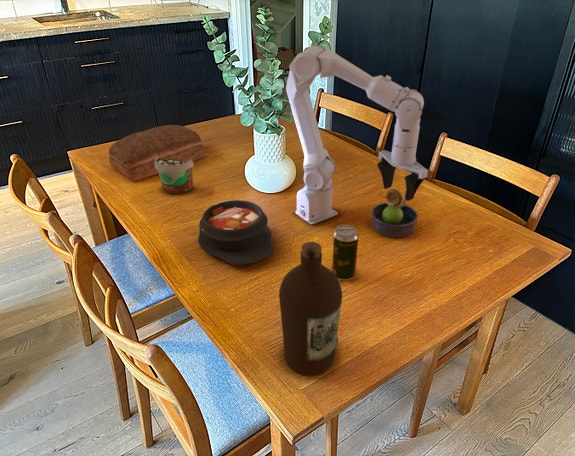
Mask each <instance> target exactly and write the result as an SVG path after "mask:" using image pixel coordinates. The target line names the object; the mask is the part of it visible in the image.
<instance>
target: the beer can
mask: <svg viewBox="0 0 575 456" xmlns="http://www.w3.org/2000/svg"><path fill="white" fill-rule="evenodd" d="M332 243H333V245H332V261H331V262H332V263H331V271H332V272H333V273H334V274H335V276H336V277H337V279H338V281H341V282H347V281H350V280H352V279H353V278H354V277H355V275H356V272H357V271H356V269H357V261H358V260H357V259H358V257H357V256H358V247H359V231H358V229H357V228H356V227H355V226H353V225H350V224H341V225H338V226H337V227H336V228H334V232H333V242H332Z"/></svg>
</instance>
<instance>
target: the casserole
mask: <svg viewBox="0 0 575 456" xmlns="http://www.w3.org/2000/svg"><path fill="white" fill-rule="evenodd" d="M268 221H269V219H268V216H267V214H266V213H265V212H264V210H263V208H261V206H259V205H258V204H257V203H254V202H252V201H249V200H243V199H230V200H224V201H220V202H217V203H214V204H213V205H210V206H209V207H207V209H206V210H205V211H204V212H203V214H202V217H201V219H200V220H199V224H198V225H199V233H198V237H197V241H198V245H199V247H200V248H201V249H202V251H204V252H205V253H206V254H208V255H211V256H214V257H217V258H219V259H221V260H224V261H225V262H226V263H228V264H230V265H234V266H243V265H250V264H253V263H257V262H260V261H262V260H265V259H266V258H268V257H269V256H271V255H272V254H273V251H274V250H275V248H274V245H273V241H272V231H271V229H270V227H269V226H268Z"/></svg>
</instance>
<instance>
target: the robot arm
mask: <svg viewBox="0 0 575 456" xmlns="http://www.w3.org/2000/svg"><path fill="white" fill-rule="evenodd" d="M288 68H289V72H288V76H287V80H286V85H285V91H286V95H287V98H288V101H289V102H288V103H289V105H290V108H291V112H292V115H293V120H294V123H295V126H296V129H297V133H298V137H299V141H300V144H301V147H302V148H301V149H302V151H303V154H304V155H303V156H304V158H303V164H302V167H303V168H302V169H303V171H304V174H303V183H304V187H302V188H301V189H299V190H298V191H297V193H296V210H294V213H295V214H296V215H297V216H299V217H300V218H301V219H302V220H304V221H305V222H306V223H308V224H309V225H315V224H318V223H321V222H322V221H325V220H327V219H330V218H332V217H335V216H338V214H339V212H338V211H336V210H334V209H333V208H332V206H333V185H334V184H333V180H332V176H333V175H334V173H335V172H336V164H335V162H334V161H333V159H332V158H331V157H330V154H329V151H328V150H327V149H326V148H325V147H324V144H323V140H322V137H321V133H320V128H319V125H318V121H317V117H316V114H315V110H314V106H313V102H312V98H311V93H310V87H311V86H312V84H313V83H314V81H315V79H316V78H317V76H318V75H320V76H319V77H320V79H324V78H329V77H337V78H339V79H341V80H343V81H346V82H348V83H350V84H352V85H353V86H356V87H358V88H360V89H362V90H364V91H365V93H366V96H367V98H368V99H369V100H371V101H372V102H374V103H376V104H378V105H380V106H382V107H383V108H386V109H387V110H389V111H390V112H394V115H395V117H396V122H395V124H394V131H393V138H392V147H391V151H389V150H386V149H383V150H381V151H379V152H378V159H379V160H380V161H379V162H378V163H377V164H376V165H377V166H376V167H377V168H378V170H379V172H380V175H381V179H382V185H383V189H384V190H387V189H391V188H392V186H393V182H394V175H395V171H396V169H401V170H405V171H406V172H409V173H410V174H408V175H405V176H404V182H405V191H406V195H405V199H406V200H407V201H406V202H409V201H412V200H414V198H415V195H416V193H417V191H418V190H419V188H420V186H421V184H422V183H423V182H424V181H425V180H426V179H427V178H428V173H429V169H427V168H426V167H424V166H423V165H422V164H421V163H419V162H418V161H417V157H416V154H417V148H418V143H419V142H418V141H419V134H420V130H421V129H420V128H421V126H420V123H421V116H422V114H423V109H424V105H425V100H424V97H423V95H422V94H421V93H420V92H418V90H417V89H410V87H408V86H405V87H403V86H401V85H400V84H398V83H396V82H394V81H392V77H391V76H389V75H387V74H386V76H383V75H381V74H380V75H377V76H376V75H375V76H372V75H370V74H369V73H368V72H366V71H365V70H363V69H361V68H360V67H358V66H356V65H354V64H353V63H352V62H350V61H348V60H347V59H345V58H343V57H342V56H340V55H339V54H338V53H336V52H335V51H333V50H332V49H328V48H326V47H324V46H323V45H321V44H317V43H316V44H312V45H310V46H308V47H307V48H306V49H304V50H303V51H302V52H300V53H298V54H296V56H295V57H294V58H293V60H292V61H291V63H290V64H289V67H288Z"/></svg>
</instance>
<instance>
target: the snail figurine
mask: <svg viewBox="0 0 575 456" xmlns="http://www.w3.org/2000/svg"><path fill="white" fill-rule="evenodd" d="M405 195H406V190H405V191H404V192H403V195H402V193H401V192H400V191H399V189H396V188H389V189H388V190H387V191H386V193H385V198H386V200H385V202H384V203H387V205H388V207H386V208H385V209H384V211H383V213H382V218H383V221H384V222H385V223H387V224H392V225H398V224H399V223H400V222H401V221H402V219H403V212H402V210H401V209H400V208H401V207H403V206H404V205H406V204H407V202H408V201H407V200H406V199H405Z"/></svg>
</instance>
